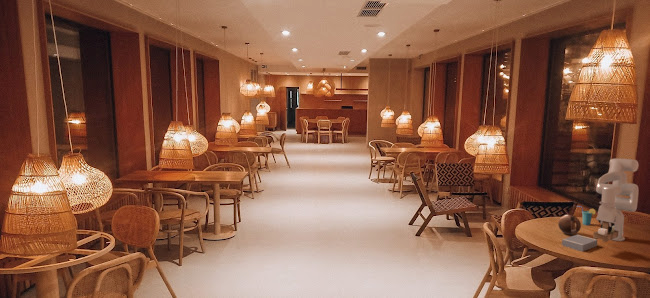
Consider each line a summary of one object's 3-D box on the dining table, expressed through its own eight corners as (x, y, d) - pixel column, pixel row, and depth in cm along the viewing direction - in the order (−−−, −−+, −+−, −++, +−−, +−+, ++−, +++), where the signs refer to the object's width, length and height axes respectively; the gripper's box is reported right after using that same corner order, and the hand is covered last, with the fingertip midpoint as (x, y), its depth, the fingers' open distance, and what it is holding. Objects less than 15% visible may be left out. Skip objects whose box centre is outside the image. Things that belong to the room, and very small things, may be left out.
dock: (576, 240, 310) (576, 234, 310) (597, 245, 298) (597, 239, 298) (561, 245, 299) (562, 239, 299) (582, 251, 288) (582, 245, 287)
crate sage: (607, 230, 290) (608, 225, 289) (614, 232, 287) (614, 226, 286) (604, 231, 288) (605, 226, 287) (611, 233, 285) (611, 227, 284)
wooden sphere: (557, 230, 335) (558, 211, 333) (579, 232, 328) (580, 213, 326) (558, 235, 322) (559, 216, 320) (580, 238, 315) (582, 218, 313)
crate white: (600, 233, 285) (601, 227, 284) (607, 235, 282) (607, 229, 281) (597, 234, 283) (598, 229, 282) (604, 236, 279) (604, 230, 279)
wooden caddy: (605, 233, 293) (606, 218, 292) (618, 236, 286) (619, 221, 285) (593, 238, 284) (594, 223, 282) (606, 242, 277) (607, 226, 276)
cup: (575, 224, 351) (576, 206, 349) (575, 221, 357) (577, 204, 355) (594, 226, 343) (596, 208, 341) (595, 224, 349) (596, 206, 347)
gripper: (592, 203, 287) (590, 228, 289) (619, 208, 273) (617, 235, 276) (597, 201, 291) (595, 226, 293) (624, 206, 277) (622, 233, 280)
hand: (606, 230), depth 284 cm, fingers closed on wooden caddy, 3 cm apart
